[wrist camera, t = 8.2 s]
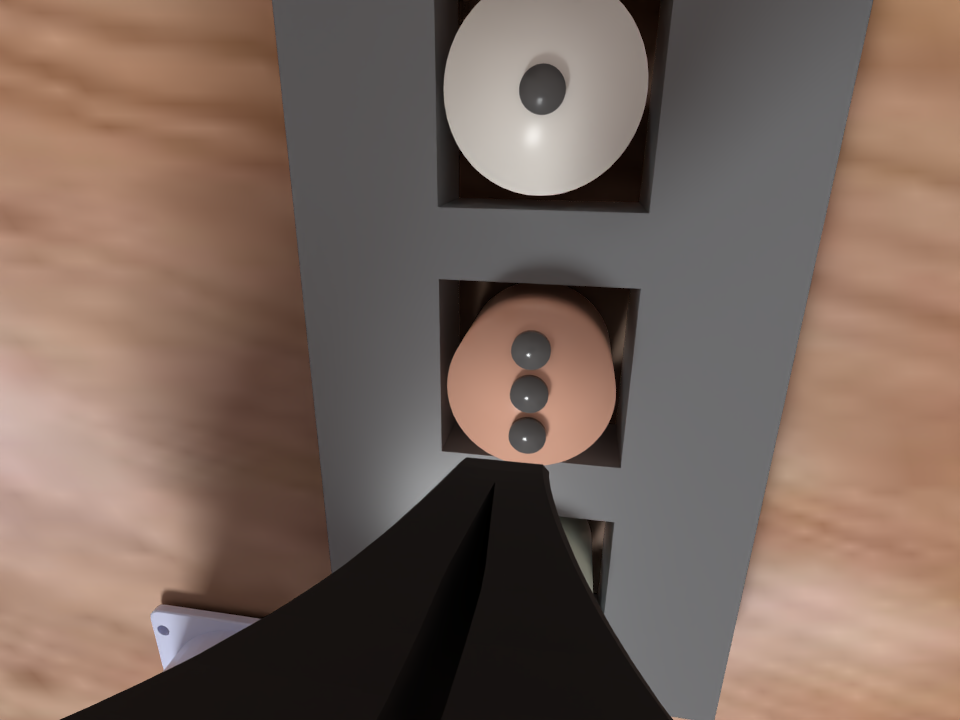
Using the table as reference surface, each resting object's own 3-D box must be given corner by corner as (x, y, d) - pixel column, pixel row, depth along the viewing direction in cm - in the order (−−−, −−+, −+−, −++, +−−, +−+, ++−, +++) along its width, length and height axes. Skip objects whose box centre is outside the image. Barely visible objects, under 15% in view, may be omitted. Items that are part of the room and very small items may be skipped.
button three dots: (603, 418, 17) (608, 477, 14) (469, 407, 17) (446, 462, 14) (616, 284, 15) (624, 318, 12) (469, 277, 16) (444, 308, 13)
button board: (698, 655, 20) (713, 723, 17) (367, 608, 22) (341, 664, 19) (852, -135, 12) (917, -202, 10) (310, -104, 14) (256, -153, 11)
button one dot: (626, 187, 14) (637, 198, 11) (470, 184, 15) (442, 194, 12) (644, 4, 13) (661, -37, 10) (470, 8, 14) (439, -29, 11)
